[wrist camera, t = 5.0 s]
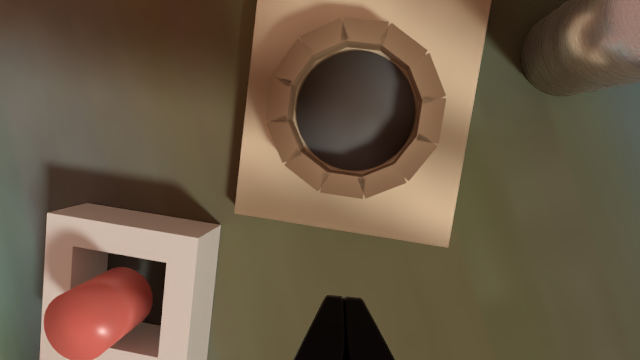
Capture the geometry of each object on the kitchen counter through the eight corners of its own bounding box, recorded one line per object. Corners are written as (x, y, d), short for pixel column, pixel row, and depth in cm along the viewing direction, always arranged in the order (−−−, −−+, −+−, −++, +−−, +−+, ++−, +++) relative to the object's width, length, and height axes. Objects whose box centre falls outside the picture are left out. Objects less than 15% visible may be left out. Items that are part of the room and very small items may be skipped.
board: (444, 242, 22) (453, 256, 19) (240, 210, 23) (224, 219, 20) (486, 2, 20) (502, -17, 18) (265, -19, 21) (251, -39, 19)
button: (159, 322, 23) (108, 368, 18) (105, 312, 23) (41, 354, 19) (164, 266, 22) (113, 298, 18) (109, 256, 23) (45, 286, 18)
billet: (600, 101, 20) (819, 69, 10) (513, 91, 20) (643, 51, 11) (618, 15, 20) (867, -107, 10) (529, 6, 20) (681, -118, 10)
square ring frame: (206, 359, 24) (183, 391, 21) (79, 333, 25) (39, 360, 22) (220, 224, 23) (198, 238, 20) (87, 202, 24) (47, 212, 21)
